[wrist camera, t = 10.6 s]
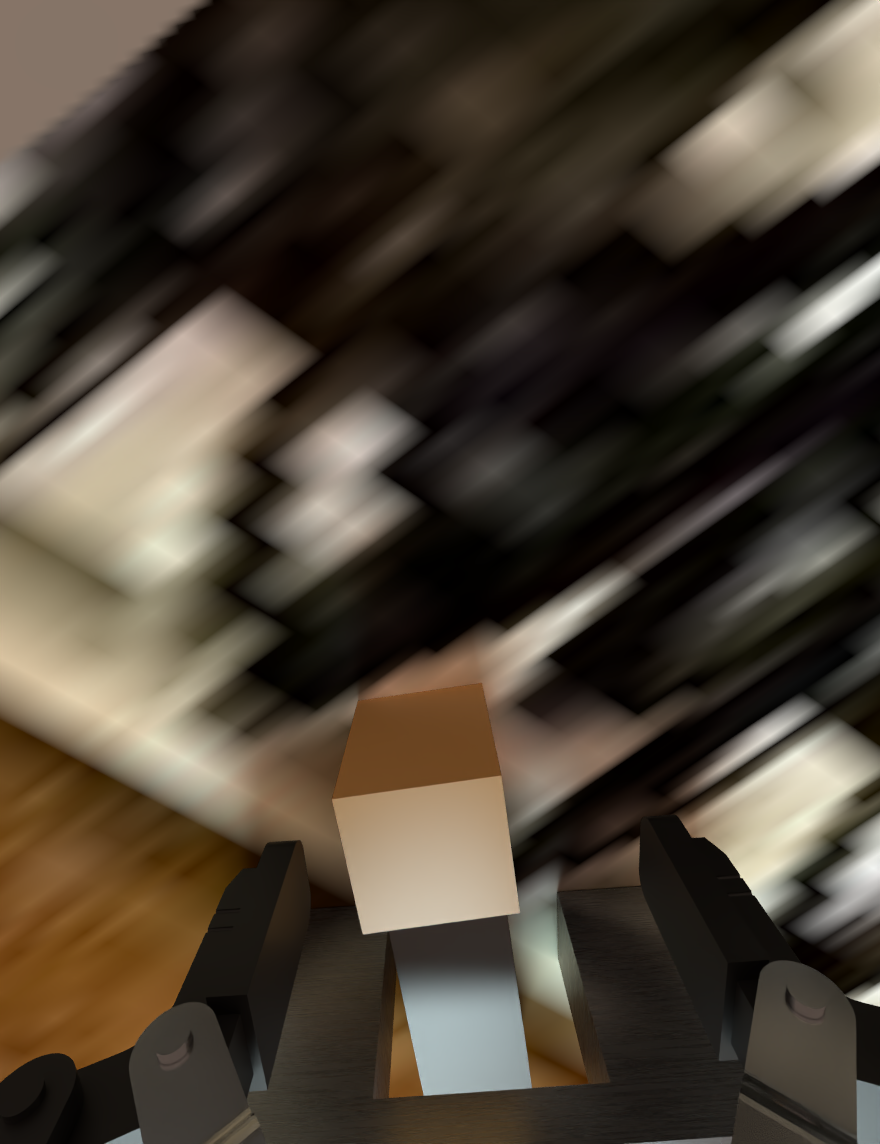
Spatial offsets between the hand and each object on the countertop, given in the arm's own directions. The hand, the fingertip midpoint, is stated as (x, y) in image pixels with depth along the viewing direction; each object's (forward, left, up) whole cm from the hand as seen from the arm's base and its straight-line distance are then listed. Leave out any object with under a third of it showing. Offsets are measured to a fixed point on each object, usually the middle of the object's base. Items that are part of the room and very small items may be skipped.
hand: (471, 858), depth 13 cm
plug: (-1, -5, -5) cm, 8 cm away
